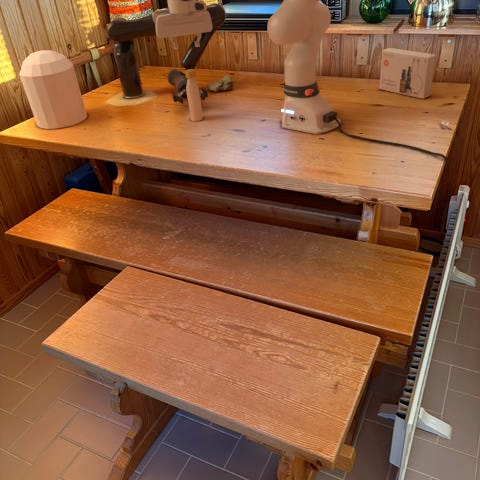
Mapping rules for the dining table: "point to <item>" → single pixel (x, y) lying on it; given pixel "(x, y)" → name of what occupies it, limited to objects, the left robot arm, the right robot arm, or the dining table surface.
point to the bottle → (194, 100)
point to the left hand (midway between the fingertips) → (193, 99)
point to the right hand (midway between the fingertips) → (186, 48)
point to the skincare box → (407, 72)
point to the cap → (190, 73)
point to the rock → (221, 84)
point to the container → (52, 90)
